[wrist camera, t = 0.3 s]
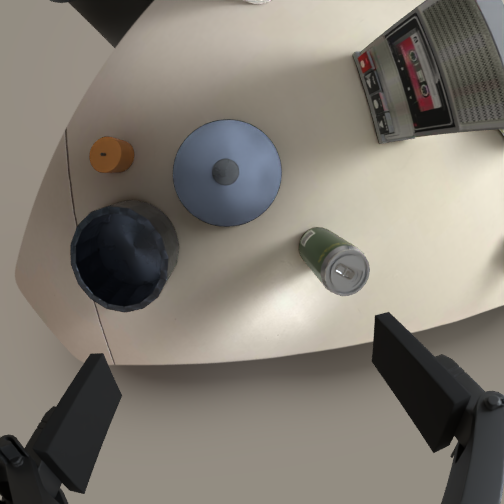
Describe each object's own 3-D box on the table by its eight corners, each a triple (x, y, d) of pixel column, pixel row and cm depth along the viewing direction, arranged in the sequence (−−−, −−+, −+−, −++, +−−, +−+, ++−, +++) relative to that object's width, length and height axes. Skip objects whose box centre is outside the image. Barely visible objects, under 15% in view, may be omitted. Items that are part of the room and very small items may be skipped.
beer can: (290, 253, 41) (313, 284, 29) (310, 219, 40) (341, 238, 28) (322, 270, 42) (353, 305, 30) (341, 237, 41) (380, 262, 29)
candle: (99, 155, 35) (79, 153, 30) (122, 133, 35) (105, 128, 29) (116, 179, 37) (98, 180, 31) (140, 157, 36) (125, 155, 30)
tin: (79, 238, 38) (53, 251, 31) (140, 181, 37) (120, 183, 30) (133, 304, 41) (116, 329, 34) (197, 255, 40) (190, 272, 33)
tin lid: (154, 164, 37) (128, 161, 27) (238, 101, 35) (241, 77, 25) (216, 245, 40) (212, 269, 30) (300, 184, 39) (323, 188, 29)
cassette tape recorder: (350, 55, 34) (454, -29, 10) (384, 54, 34) (495, -12, 10) (376, 144, 38) (516, 130, 14) (410, 139, 38) (546, 129, 13)
